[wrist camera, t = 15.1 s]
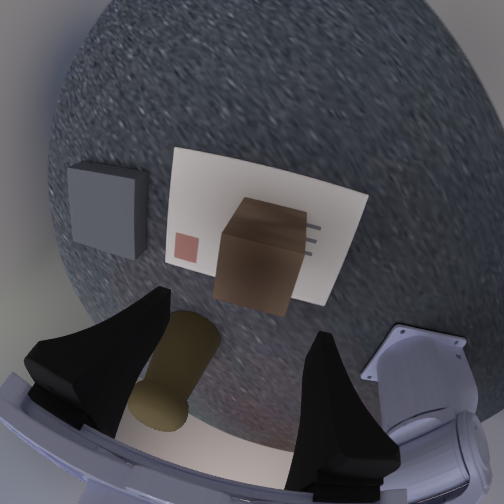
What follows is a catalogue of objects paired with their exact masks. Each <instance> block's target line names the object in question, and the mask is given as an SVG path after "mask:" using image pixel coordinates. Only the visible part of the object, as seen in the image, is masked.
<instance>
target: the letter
mask: <svg viewBox="0 0 504 504" xmlns="http://www.w3.org/2000/svg"><path fill="white" fill-rule="evenodd" d="M368 196H369V195H367V194H364V193H361V192H358V191H355V190H352V189H349V188H345V187H342V186H339V185H336V184H332V183H329V182H325V181H322V180H319V179H315V178H312V177H308V176H304V175H301V174H297V173H293V172H289V171H286V170H282V169H278V168H274V167H270V166H266V165H262V164H258V163H253V162H249V161H245V160H240V159H236V158H231V157H227V156H222V155H217V154H212V153H207V152H202V151H197V150H192V149H186V148H180V147H175V148H174V157H173V165H172V175H171V185H170V196H169V208H168V222H167V238H166V259H165V262H166V263H169V264H173V265H176V266H179V267H183V268H186V269H190V270H193V271H196V272H200V273H203V274H207V275H210V276H214V277H215V275H216V268H217V260H218V253H219V246H220V239H221V233H222V232H223V230H224V228H225V227H226V225H227V224H228V222H229V220H230V219H231V217H232V216H233V214H234V213H235V211H236V210H237V208H238V206H239V205H240V203H241V202H242V200H243V199H244V197H248V198H252V199H256V200H260V201H264V202H269V203H273V204H277V205H281V206H285V207H289V208H293V209H297V210H300V211H304V212H307V226H306V247H305V256H304V259H303V263H302V266H301V269H300V272H299V275H298V278H297V281H296V284H295V287H294V290H293V293H292V296H291V298H295V299H298V300H302V301H306V302H310V303H314V304H318V305H322V306H325V304H326V301H327V299H328V297H329V295H330V292H331V290H332V288H333V286H334V283H335V281H336V279H337V276H338V274H339V271H340V269H341V267H342V264H343V262H344V259H345V257H346V255H347V252H348V250H349V247H350V245H351V242H352V239H353V237H354V234H355V232H356V229H357V227H358V224H359V221H360V219H361V216H362V213H363V210H364V208H365V205H366V202H367V199H368Z"/></svg>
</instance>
